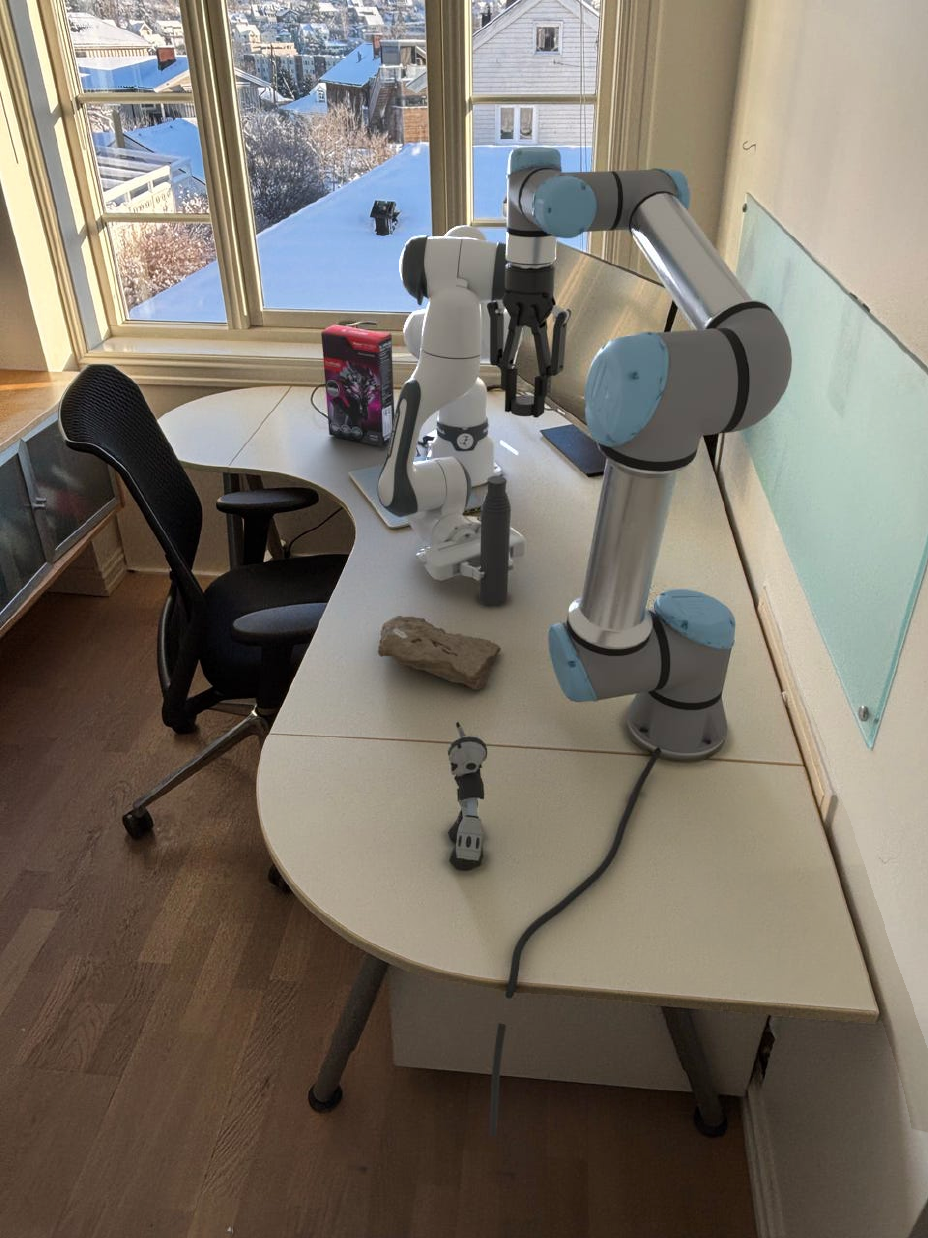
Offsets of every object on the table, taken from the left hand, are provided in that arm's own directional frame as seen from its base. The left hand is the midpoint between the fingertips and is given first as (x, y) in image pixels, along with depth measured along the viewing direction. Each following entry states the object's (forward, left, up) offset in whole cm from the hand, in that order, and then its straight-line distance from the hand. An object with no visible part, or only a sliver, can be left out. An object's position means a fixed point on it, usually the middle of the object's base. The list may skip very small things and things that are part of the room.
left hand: (497, 571), depth 170 cm
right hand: (+2, +3, +31) cm, 32 cm away
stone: (+19, -13, -7) cm, 24 cm away
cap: (+2, +3, +33) cm, 33 cm away
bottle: (-1, 0, -7) cm, 7 cm away
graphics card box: (-80, -24, -7) cm, 84 cm away
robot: (+60, -12, -7) cm, 61 cm away
